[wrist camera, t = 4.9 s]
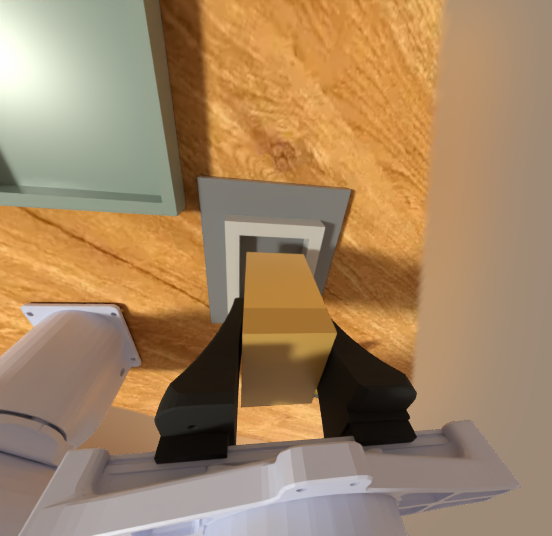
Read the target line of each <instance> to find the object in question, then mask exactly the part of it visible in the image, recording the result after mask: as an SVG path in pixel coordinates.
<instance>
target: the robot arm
mask: <svg viewBox="0 0 552 536" xmlns="http://www.w3.org/2000/svg"><path fill="white" fill-rule="evenodd" d="M21 310H22V312H23V313H24V314H25V316H26V317H27V319H28V320H29V321H30V323H31V324H32V325H33V328H32V329H31V330H30V331H29V332H28V333H26V334H25V335H24V336H23V337H22V338H21V339H20V340H18V341H17V342H16V343H15V344H14V345H13V346H12V347H10V348H9V349H8V350H7V351H6V352H5V353H4V354H3V355H1V356H0V536H408V533H407V531H406V529H405V526H404V523H403V521H402V518H401V516H405V515H410V514H416V513H421V512H426V511H431V510H437V509H442V508H448V507H453V506H459V505H465V504H472V503H479V502H485V501H488V500H490V499H493V498H495V497H498V496H500V495H503V494H505V493H508V492H510V491H513V490H515V489H518V488H520V487H521V484H520V483H519V482H518V480H517V479H516V478H515V476H514V475H513V474H512V472H511V471H510V470H509V469H508V467H507V466H506V465H505V463H504V462H503V461H502V459H501V458H500V457H499V455H498V454H497V453H496V452H495V450H494V449H493V448H492V446H491V445H490V444H489V443H488V441H487V440H486V439H485V437H484V436H483V435H482V433H481V432H480V431H479V429H478V428H477V427H476V426H475V424H474V423H473V422H472V421H471V420H465V421H453V422H449V423H447V424H446V425H444V426H443V427H442V429H436V430H423V431H414V430H413V428H412V426H411V424H410V423H409V421H408V420H409V419H410V416H409V414H408V412H407V410H406V409H407V408H408V407H409V406H410V405H411V404H412V403H413V402H414V400H415V398H416V394H417V393H416V391H415V389H414V387H413V386H412V384H411V383H410V381H409V380H408V378H407V377H406V375H405V374H403V373H402V372H400V371H398V370H396V369H395V368H393V367H391V366H389V365H388V364H386V363H384V362H383V361H381V360H380V359H378V358H377V357H375V356H374V355H372V354H371V353H369V352H368V351H367V350H365V349H364V348H363V347H361V346H360V345H359V344H358V343H356V342H355V341H354V340H353V339H352V338H350V337H349V336H348V335H347V334H346V333H345V332H344V331H343V330H342V329H341V328H340V327H339V326H338V325H337V324H336V323H335V322H334V321H333V320H332V319H331V320H332V322H333V324H334V327H335V329H336V331H337V335H336V338H335V340H334V343H333V346H332V348H331V351H330V354H329V356H328V359H327V362H326V365H325V367H324V370H323V373H322V375H321V378H320V381H319V383H318V386H317V392H318V398H319V404H320V411H321V418H322V425H323V432H324V438H322V439H309V440H297V441H284V442H271V443H260V444H246V445H236V432H237V411H238V390H239V372H240V363H241V356H242V332H243V312H244V298H235V299H234V302H233V305H232V307H231V309H230V312H229V314H228V315H227V317H226V319H225V321H224V323H223V324H222V326H221V328H220V329H219V331H218V332H217V334H216V335H215V337H214V338H213V339H212V341H211V342H210V343H209V345H208V346H207V347H206V348H205V350H204V351H203V352H202V353H201V354H200V355H199V356H198V358H197V359H196V360H195V361H194V362H193V363H192V364H191V365H190V366H189V367H188V368H187V369H186V370H185V371H184V372H183V373H181V374H180V375H179V376H178V377H177V378H176V379H175V380H174V381H173V382H171V383H170V385H169V386H168V388H167V390H166V392H165V394H164V396H163V398H162V400H161V402H160V405H159V407H158V410H157V413H156V416H155V425H156V427H157V429H158V431H159V433H160V435H161V437H160V441H159V444H158V447H157V450H156V452H146V453H132V454H121V455H120V454H119V455H110V453H109V451H108V450H106V449H104V448H87V449H76V448H77V447H78V446H80V445H81V444H82V443H84V442H85V441H86V440H87V439H88V438H89V437H90V436H91V435H92V434H93V433H94V432H95V431H96V430H97V428H98V427H99V426H100V424H101V423H102V421H103V420H104V418H105V416H106V414H107V412H108V410H109V408H110V406H111V404H112V403H113V401H114V399H115V397H116V395H117V393H118V391H119V389H120V387H121V385H122V384H123V382H124V380H125V378H126V376H127V374H128V372H129V370H130V368H131V367H139V366H140V365H141V363H142V362H141V359H140V357H139V354H138V352H137V349H136V347H135V344H134V342H133V339H132V337H131V334H130V332H129V330H128V327H127V325H126V322H125V320H124V317H123V315H122V312H121V310H120V308H119V306H117V305H115V304H36V303H27V304H24V305H23V306H21Z"/></svg>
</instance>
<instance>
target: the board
mask: <svg viewBox="0 0 552 536" xmlns="http://www.w3.org/2000/svg"><path fill="white" fill-rule="evenodd" d="M197 181H198V191H199V202H200V212H201V222H202V233H203V243H204V253H205V264H206V274H207V285H208V295H209V305H210V316H211V323H224V321H225V319H226V317H227V315H228V314H229V312H230V309H231V307H232V305H233V302H234V299H235V298H244V293H245V273H246V254H247V252H261V253H286V254H304V256H305V259H306V261H307V263H308V266H309V268H310V270H311V273H312V275H313V277H314V280H315V282H316V285H317V287H318V289H319V292H320V294H321V296H322V294H323V291H324V287H325V284H326V280H327V276H328V273H329V269H330V266H331V262H332V258H333V255H334V251H335V247H336V244H337V240H338V237H339V233H340V229H341V226H342V222H343V219H344V215H345V211H346V208H347V204H348V200H349V197H350V193H351V190H350V189H348V188H340V187H329V186H317V185H306V184H294V183H283V182H271V181H260V180H248V179H236V178H225V177H213V176H202V175H199V176H198V177H197Z"/></svg>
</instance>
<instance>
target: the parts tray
mask: <svg viewBox="0 0 552 536" xmlns="http://www.w3.org/2000/svg"><path fill="white" fill-rule="evenodd" d="M0 205H3V206H19V207H35V208H52V209H68V210H84V211H101V212H117V213H133V214H150V215H166V216H178V215H179V214H180V213H181V212H182V211H183V210H184V208H185V207H186V201H185V194H184V186H183V179H182V171H181V163H180V156H179V148H178V140H177V133H176V125H175V118H174V110H173V102H172V95H171V87H170V80H169V72H168V64H167V57H166V49H165V42H164V34H163V26H162V19H161V11H160V4H159V0H0Z"/></svg>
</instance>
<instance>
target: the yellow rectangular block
mask: <svg viewBox="0 0 552 536" xmlns="http://www.w3.org/2000/svg"><path fill="white" fill-rule="evenodd" d="M336 335H337V331H336V329H335V327H334V324H333V322H332V320H331V317H330V315H329V313H328V310H327V308H326V306H325V303H324V301H323V299H322V296H321V294H320V292H319V289H318V287H317V285H316V282H315V280H314V277H313V275H312V273H311V270H310V268H309V266H308V263H307V261H306V259H305V256H304V254H286V253H261V252H247V254H246V273H245V293H244V312H243V332H242V387H241V407H255V406H273V405H291V404H309V403H311V402H312V400H313V397H314V394H315V392H316V389H317V386H318V383H319V381H320V378H321V375H322V373H323V370H324V367H325V365H326V362H327V359H328V356H329V354H330V351H331V348H332V346H333V343H334V340H335V338H336Z"/></svg>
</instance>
